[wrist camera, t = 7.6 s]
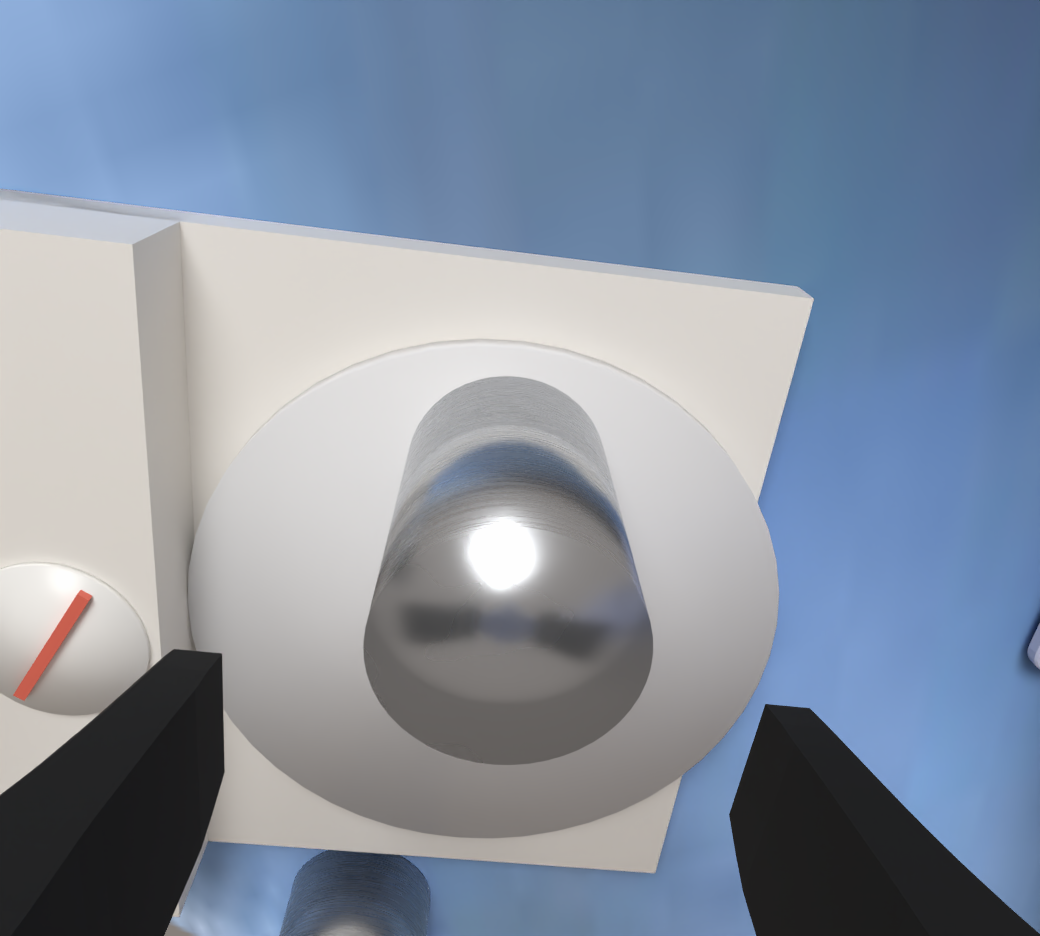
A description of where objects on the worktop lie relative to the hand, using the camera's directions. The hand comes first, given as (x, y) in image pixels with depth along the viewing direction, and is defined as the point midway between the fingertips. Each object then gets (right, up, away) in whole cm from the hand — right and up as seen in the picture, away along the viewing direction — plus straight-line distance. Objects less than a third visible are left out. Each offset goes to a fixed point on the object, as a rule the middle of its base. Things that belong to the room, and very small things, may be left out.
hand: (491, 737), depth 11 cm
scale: (-3, +1, +9) cm, 9 cm away
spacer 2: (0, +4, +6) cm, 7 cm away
